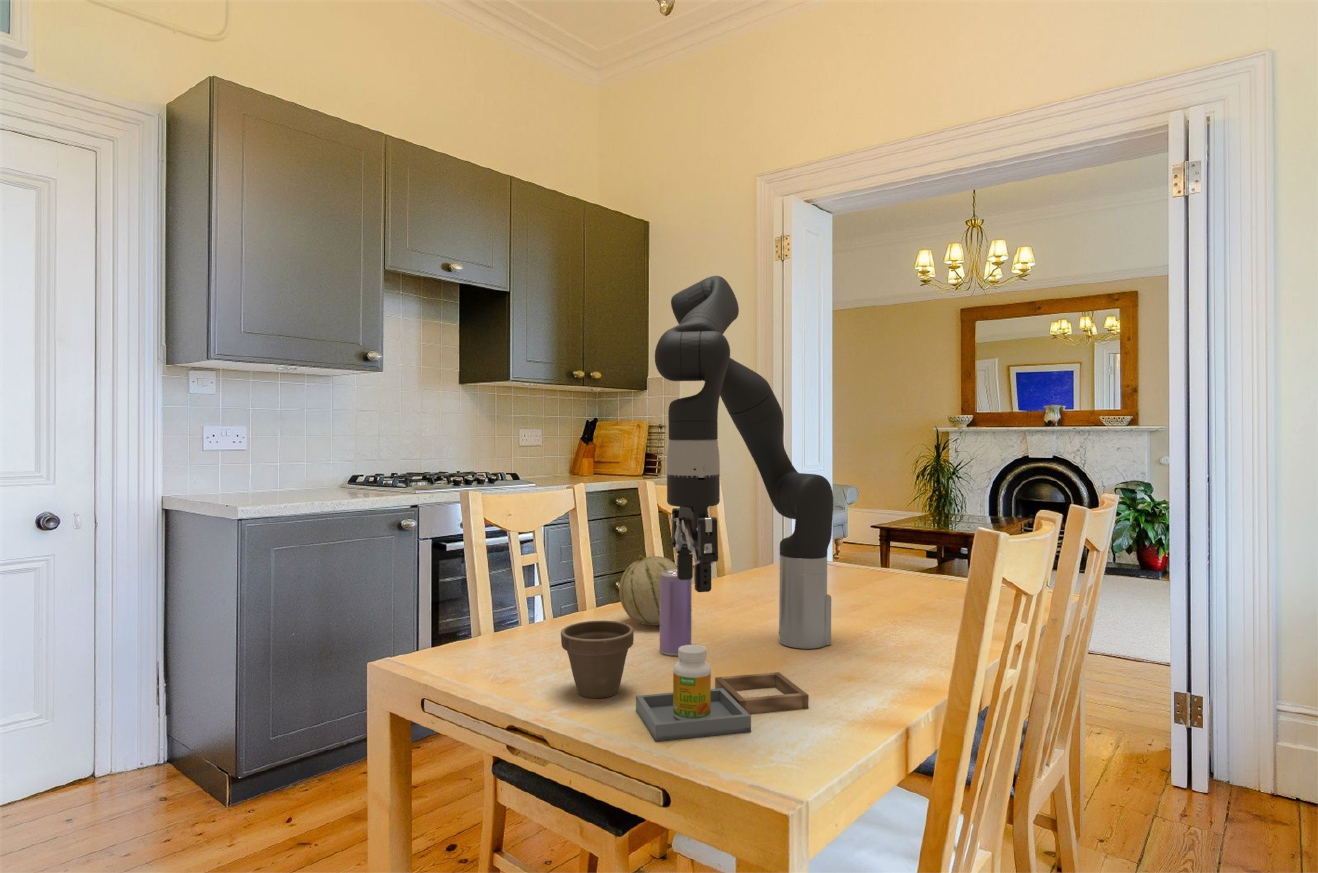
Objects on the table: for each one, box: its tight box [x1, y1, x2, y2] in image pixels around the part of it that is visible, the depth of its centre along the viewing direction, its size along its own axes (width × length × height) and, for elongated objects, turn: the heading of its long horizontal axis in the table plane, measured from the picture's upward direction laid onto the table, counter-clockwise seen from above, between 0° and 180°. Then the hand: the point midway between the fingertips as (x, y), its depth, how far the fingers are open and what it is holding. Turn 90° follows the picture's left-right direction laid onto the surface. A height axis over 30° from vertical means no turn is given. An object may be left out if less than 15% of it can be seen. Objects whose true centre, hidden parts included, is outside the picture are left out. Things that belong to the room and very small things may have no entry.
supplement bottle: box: [672, 644, 712, 720], centre depth 109 cm, size 5×5×10 cm
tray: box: [635, 688, 752, 742], centre depth 109 cm, size 14×12×2 cm
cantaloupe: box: [618, 554, 677, 626], centre depth 163 cm, size 15×15×15 cm
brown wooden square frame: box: [714, 671, 810, 715], centre depth 118 cm, size 11×11×2 cm
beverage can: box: [659, 570, 693, 657], centre depth 142 cm, size 6×6×15 cm
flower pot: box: [560, 620, 635, 699], centre depth 120 cm, size 12×11×10 cm
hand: (693, 585), depth 108 cm, fingers open, 8 cm apart
